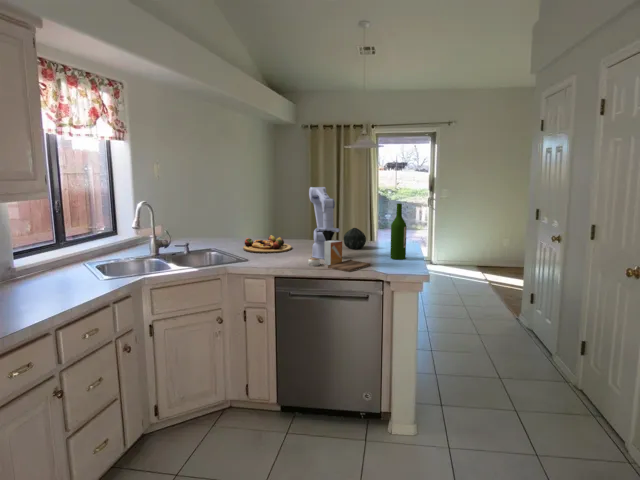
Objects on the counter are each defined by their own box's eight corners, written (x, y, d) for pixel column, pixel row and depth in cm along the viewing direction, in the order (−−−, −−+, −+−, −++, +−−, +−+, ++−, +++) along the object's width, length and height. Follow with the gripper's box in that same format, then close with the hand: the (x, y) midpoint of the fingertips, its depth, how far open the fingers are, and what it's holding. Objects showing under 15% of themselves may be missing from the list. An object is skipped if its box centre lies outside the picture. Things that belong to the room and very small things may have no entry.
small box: (330, 265, 249) (330, 242, 247) (324, 263, 255) (324, 240, 253) (342, 264, 254) (342, 241, 252) (335, 262, 259) (335, 239, 257)
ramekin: (305, 265, 251) (305, 258, 251) (313, 263, 256) (313, 257, 256) (314, 266, 247) (314, 260, 247) (322, 264, 252) (322, 258, 251)
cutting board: (328, 268, 244) (328, 265, 244) (350, 262, 259) (350, 259, 258) (348, 271, 235) (348, 269, 235) (370, 265, 250) (370, 262, 249)
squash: (356, 237, 314) (347, 222, 306) (373, 240, 304) (363, 225, 295) (345, 252, 309) (335, 238, 300) (361, 256, 298) (352, 241, 290)
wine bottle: (405, 260, 264) (407, 204, 259) (390, 259, 266) (391, 204, 261) (405, 257, 273) (407, 203, 267) (390, 256, 274) (391, 202, 269)
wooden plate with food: (234, 252, 291) (234, 239, 289) (255, 243, 321) (255, 232, 319) (280, 256, 282) (280, 243, 280) (298, 247, 312) (298, 235, 310)
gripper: (313, 220, 257) (314, 243, 259) (334, 221, 248) (334, 245, 249) (321, 219, 262) (322, 242, 264) (341, 220, 253) (342, 244, 255)
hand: (328, 244), depth 257 cm, fingers closed
